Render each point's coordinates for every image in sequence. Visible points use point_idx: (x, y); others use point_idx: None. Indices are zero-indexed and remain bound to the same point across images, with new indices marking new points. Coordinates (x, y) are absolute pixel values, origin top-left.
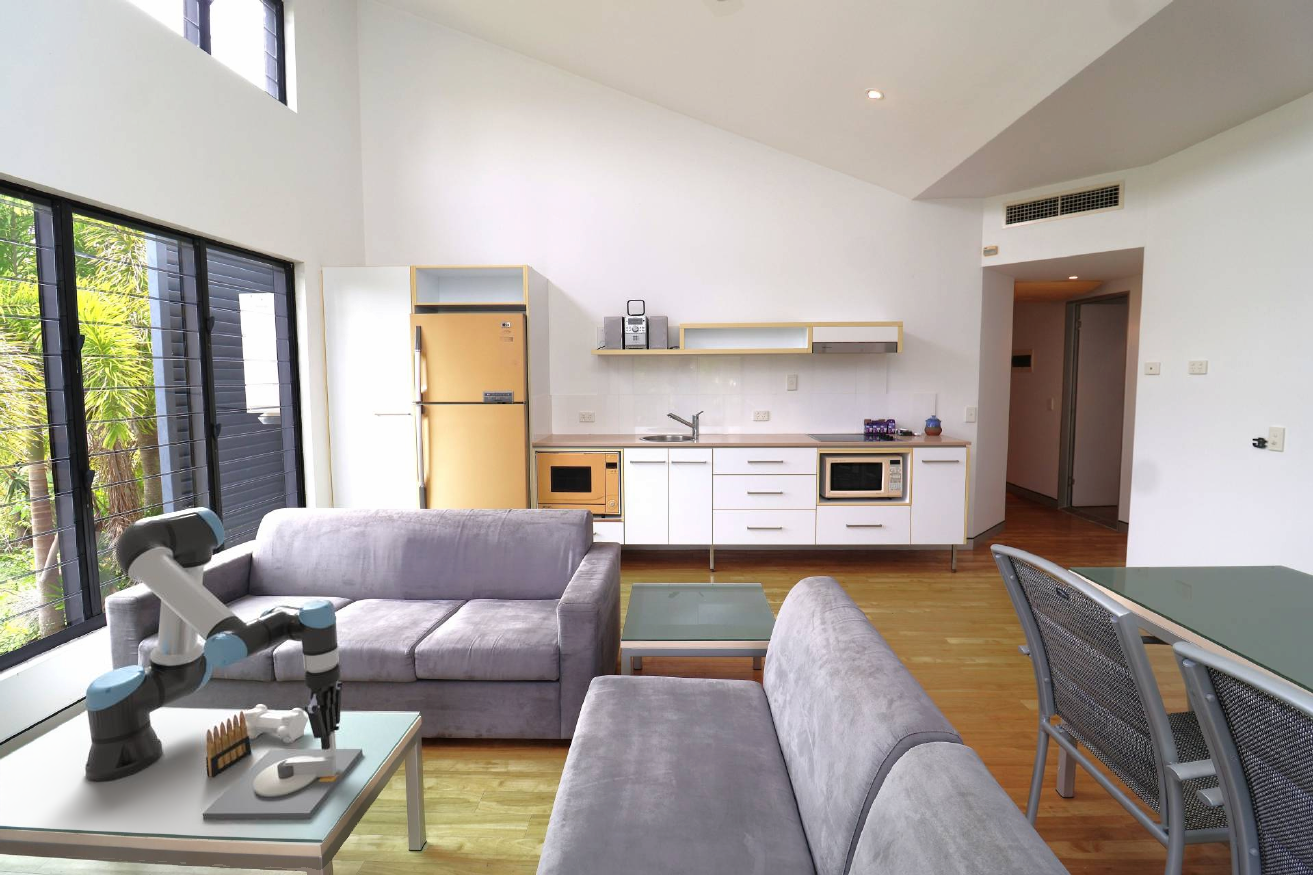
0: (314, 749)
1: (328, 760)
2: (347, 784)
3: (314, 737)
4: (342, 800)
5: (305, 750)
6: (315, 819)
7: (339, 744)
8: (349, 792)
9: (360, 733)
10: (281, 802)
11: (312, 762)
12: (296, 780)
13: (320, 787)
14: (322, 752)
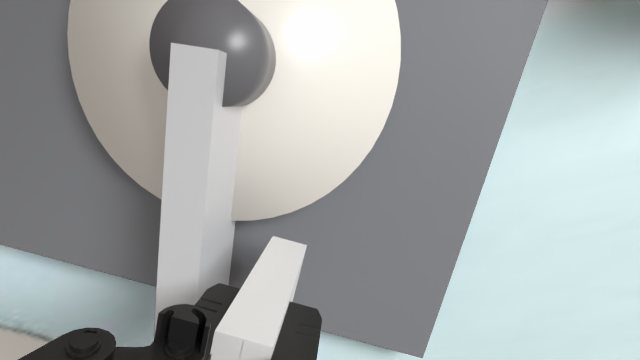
0: (503, 116)
1: (156, 315)
2: None
3: (67, 336)
4: (103, 318)
5: (510, 64)
6: (6, 249)
7: (555, 217)
8: (147, 333)
9: (633, 299)
10: (54, 97)
11: (163, 223)
12: (156, 130)
13: (140, 240)
14: (261, 257)
